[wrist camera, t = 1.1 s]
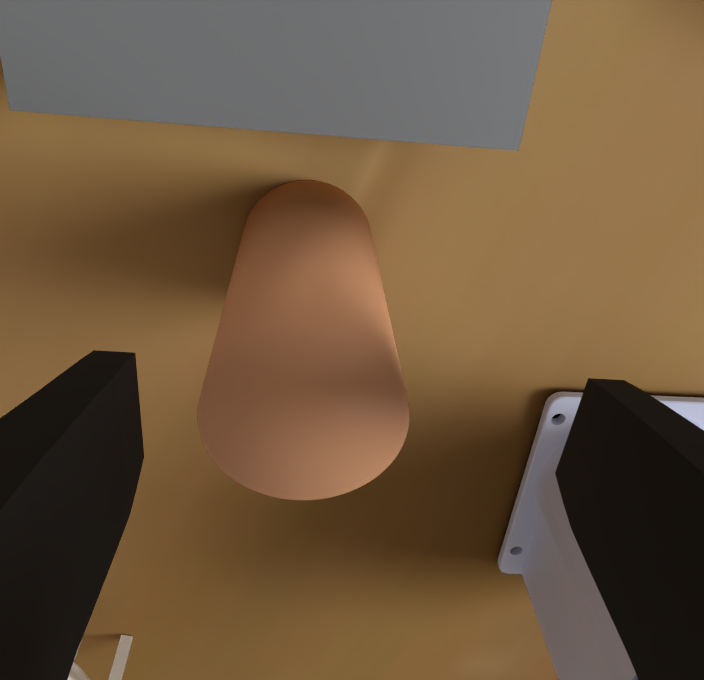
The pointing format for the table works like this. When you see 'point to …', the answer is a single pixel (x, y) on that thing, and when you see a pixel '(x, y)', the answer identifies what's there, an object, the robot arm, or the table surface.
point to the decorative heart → (78, 676)
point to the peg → (304, 353)
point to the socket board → (283, 64)
